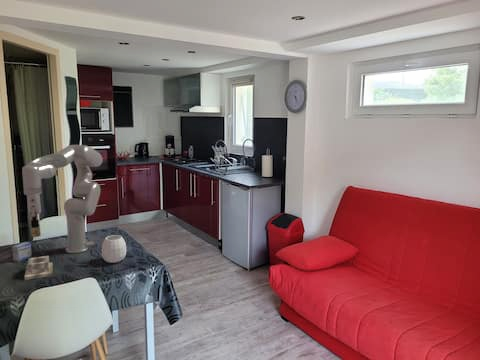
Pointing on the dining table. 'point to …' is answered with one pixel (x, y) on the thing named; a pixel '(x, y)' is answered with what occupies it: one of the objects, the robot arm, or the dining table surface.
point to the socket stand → (38, 268)
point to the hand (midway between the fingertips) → (35, 225)
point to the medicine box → (22, 251)
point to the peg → (35, 231)
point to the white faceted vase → (113, 249)
